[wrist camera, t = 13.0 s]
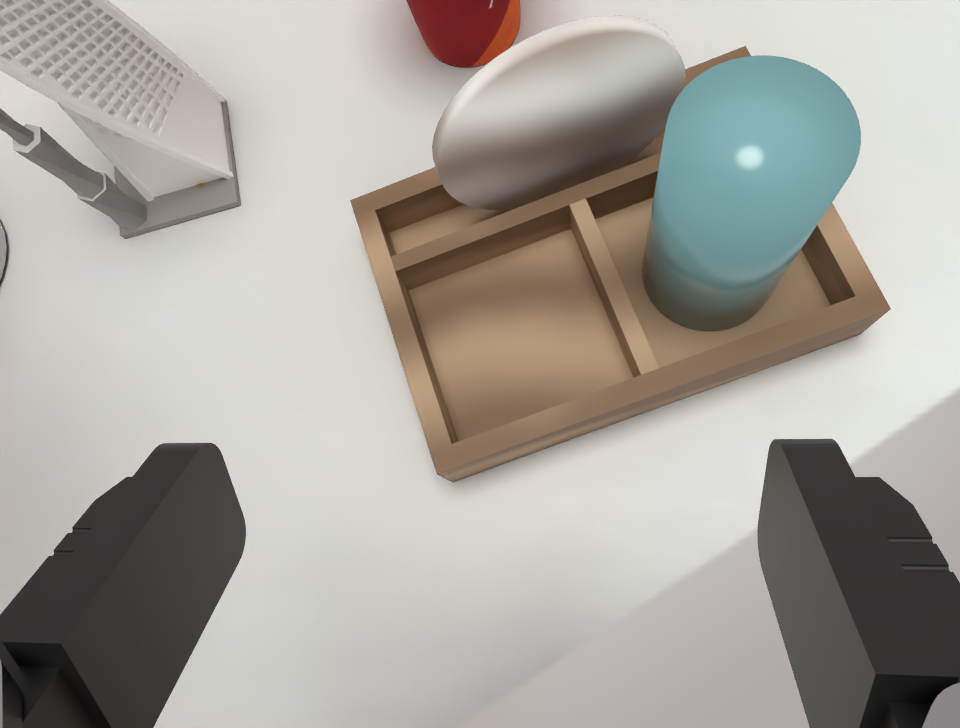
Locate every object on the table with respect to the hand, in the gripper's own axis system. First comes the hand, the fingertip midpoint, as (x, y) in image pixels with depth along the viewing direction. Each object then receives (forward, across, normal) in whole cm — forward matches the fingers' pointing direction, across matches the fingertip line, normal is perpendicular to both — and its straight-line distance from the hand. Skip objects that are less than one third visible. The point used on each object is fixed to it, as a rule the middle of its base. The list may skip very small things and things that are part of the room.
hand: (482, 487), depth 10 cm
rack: (+25, -2, +8) cm, 26 cm away
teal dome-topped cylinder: (+24, -8, +7) cm, 26 cm away
